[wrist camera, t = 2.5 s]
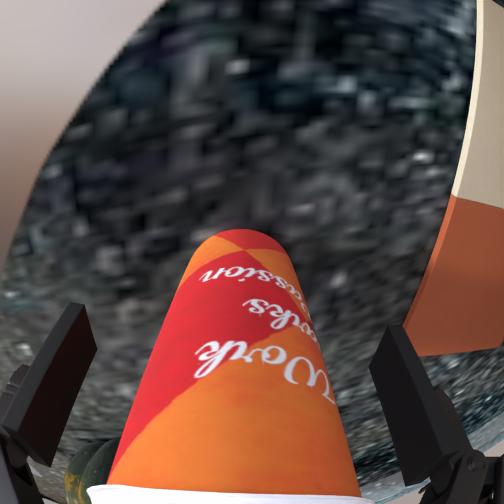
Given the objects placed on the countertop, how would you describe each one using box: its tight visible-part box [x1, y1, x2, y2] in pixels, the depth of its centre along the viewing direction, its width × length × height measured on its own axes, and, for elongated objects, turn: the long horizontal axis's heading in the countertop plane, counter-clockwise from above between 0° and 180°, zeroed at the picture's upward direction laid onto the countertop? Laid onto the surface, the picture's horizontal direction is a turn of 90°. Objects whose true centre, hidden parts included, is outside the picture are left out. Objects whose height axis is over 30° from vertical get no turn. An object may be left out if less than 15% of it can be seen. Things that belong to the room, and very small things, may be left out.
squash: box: [64, 439, 121, 504], centre depth 25 cm, size 14×15×15 cm
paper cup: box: [87, 229, 375, 504], centre depth 11 cm, size 8×8×14 cm
